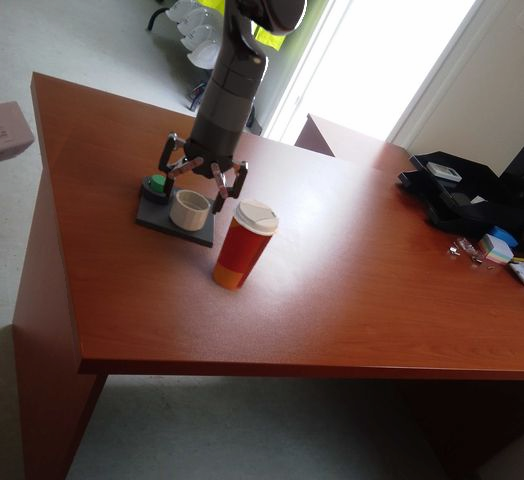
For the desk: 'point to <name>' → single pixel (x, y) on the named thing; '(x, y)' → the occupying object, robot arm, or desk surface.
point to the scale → (158, 215)
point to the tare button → (157, 183)
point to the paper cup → (244, 242)
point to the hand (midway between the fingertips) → (190, 203)
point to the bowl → (189, 210)
